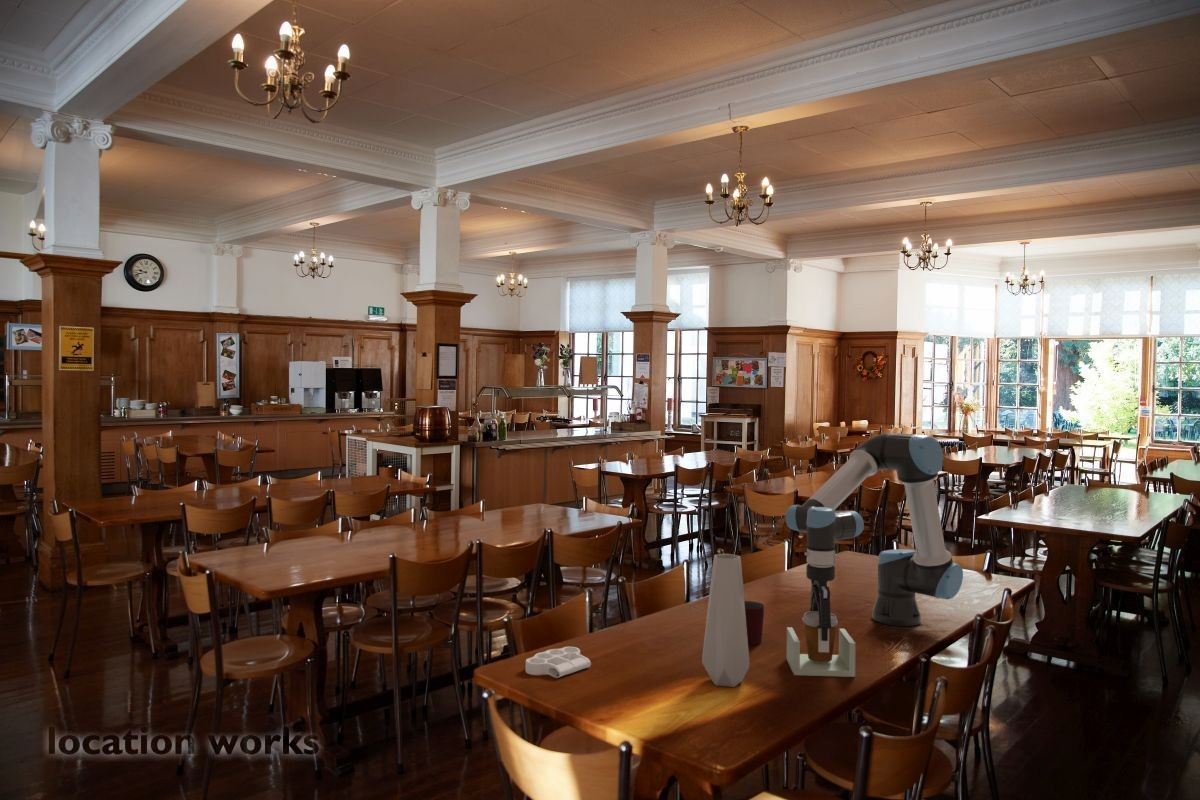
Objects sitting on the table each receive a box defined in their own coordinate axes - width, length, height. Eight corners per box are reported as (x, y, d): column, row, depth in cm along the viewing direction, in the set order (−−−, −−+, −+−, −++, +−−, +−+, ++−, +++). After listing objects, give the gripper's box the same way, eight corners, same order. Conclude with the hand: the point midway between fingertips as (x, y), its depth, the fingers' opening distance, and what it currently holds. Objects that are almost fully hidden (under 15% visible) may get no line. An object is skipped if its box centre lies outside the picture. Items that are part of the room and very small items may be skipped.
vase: (740, 694, 205) (740, 563, 204) (697, 685, 211) (698, 558, 210) (757, 679, 215) (758, 555, 214) (717, 671, 221) (717, 550, 221)
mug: (746, 650, 239) (746, 612, 239) (721, 643, 245) (722, 606, 245) (769, 641, 247) (769, 605, 247) (745, 634, 254) (745, 599, 253)
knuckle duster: (550, 684, 213) (514, 670, 223) (599, 667, 226) (563, 654, 236) (550, 671, 213) (514, 657, 223) (599, 654, 226) (563, 642, 236)
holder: (844, 660, 230) (844, 628, 230) (855, 676, 217) (855, 643, 217) (786, 658, 232) (786, 627, 231) (793, 675, 219) (794, 641, 218)
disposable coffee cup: (839, 665, 219) (839, 621, 219) (802, 663, 221) (802, 619, 221) (836, 654, 228) (836, 611, 228) (801, 652, 230) (801, 609, 230)
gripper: (799, 555, 235) (799, 633, 236) (814, 573, 213) (813, 659, 214) (826, 556, 235) (826, 634, 235) (843, 574, 213) (842, 659, 213)
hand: (820, 645), depth 224 cm, fingers closed on disposable coffee cup, 9 cm apart
